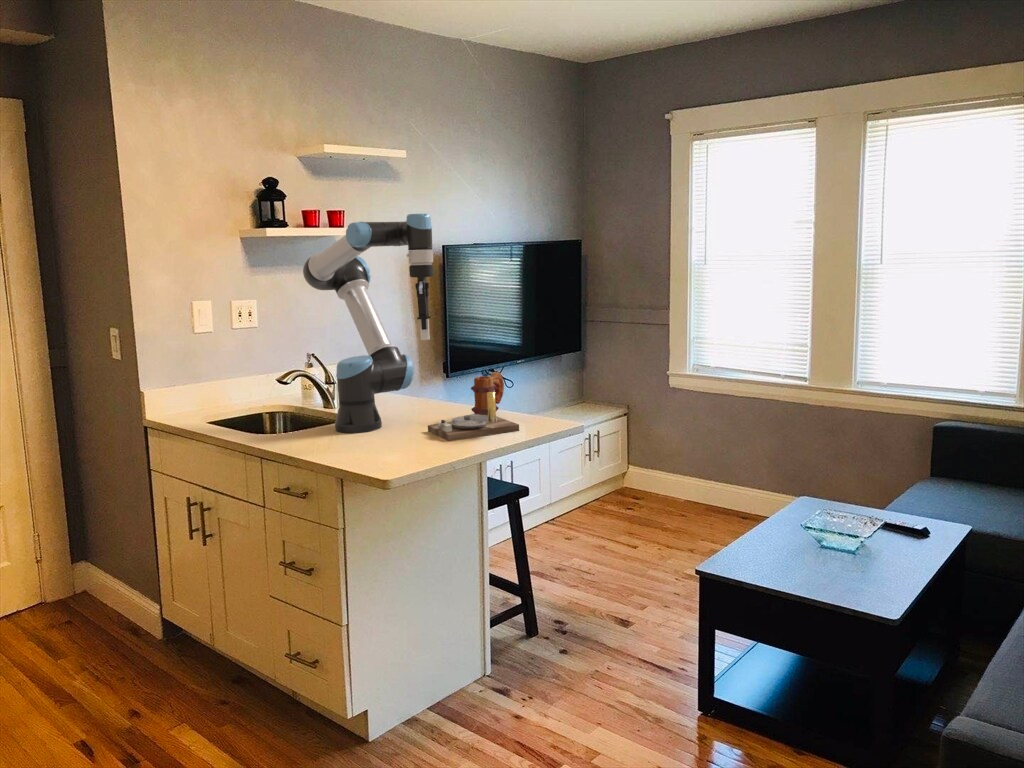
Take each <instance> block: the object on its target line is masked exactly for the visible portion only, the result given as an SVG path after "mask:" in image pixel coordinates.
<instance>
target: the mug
mask: <svg viewBox="0 0 1024 768" xmlns="http://www.w3.org/2000/svg"><path fill="white" fill-rule="evenodd" d="M504 387H505V383H504V378H503V376H502V375H501V373H500V372H497V371H492V373H491V374H490V375H489V376H488V375H487V376H485V375H483V376H476V377H474V379H473V385H472V386H471V387H470V389H471V391H473V394H474V406H473V407H472V408H471V412H472V413H473V414H482V415H488V402H487V392H495V406H496V412H497V411H498V410H499V407H498V405H499V404H500V403H501V401H502V398H503V395H504V391H505V390H504V389H505V388H504Z"/></svg>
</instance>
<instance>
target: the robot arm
mask: <svg viewBox="0 0 1024 768" xmlns="http://www.w3.org/2000/svg"><path fill="white" fill-rule="evenodd" d="M432 229H433V225H432V218H431V215H430V214H429V213H408V214H407V215H406V221H405V220H404V221H358V222H357V221H356V222H351V223H349V224H348V225H347V228H346V230H345V235H343V236H342V237H340V238H339V239H338V240H337V241H336V242H334V243H333V244H332V245H330V246H329V247H327V248H326V249H325V250H323V251H322V252H321V253H320V252H319V253H318V252H317V253H314V254H313V255H311V256H310V257H308V259H306V261H305V262H304V265H303V266H302V267H303V268H302V275H303V277H304V279H305V282H306V283H307V284H308V285H309V286H311V288H314V289H316V290H318V291H335V293H336V295H337V298H339V299H340V300H343V301H344V302H345V305H346V307H347V309H348V312H349V313H350V317H351V318H352V320H353V323H354V325H355V328H356V330H357V332H358V333H359V336H360V339H361V341H362V343H363V345H364V347H365V350H366V353H367V355H366V354H365V355H357V356H351V357H348V358H344V359H341V360H340V361H339V362H338V363H337V364H336V375H335V377H336V381H337V382H336V383H337V397H338V411H337V413H336V417H335V422H334V427H335V428H334V429H335V431H336V432H337V433H338V432H339V433H344V434H345V433H348V434H352V433H353V434H355V433H364V432H365V433H366V432H372V431H375V430H378V429H380V428H382V426H383V425H382V423H383V422H382V419H381V416H380V414H379V411H378V408H377V406H376V402H375V401H376V400H375V395H377V394H382V393H388V392H395V391H396V392H397V391H400V390H404V389H407V388H408V387H409V386H411V384H412V382H413V380H414V379H413V378H414V373H415V372H414V371H415V370H414V362H413V360H412V359H411V357H410V356H409V355H407V354H405V353H403V354H401V352H400V350H399V348H398V346H396V345H393V344H392V343H391V340H390V339H389V336H388V333H387V331H386V329H385V327H384V324H383V323H382V321H381V317H379V316H380V315H379V314H378V312H377V310H376V307H375V304H374V303H373V301H372V299H371V297H370V295H369V292H368V289H369V286H370V282H371V274H370V273H371V270H370V267H369V265H368V263H367V262H366V260H365V259H364V258H362V257H361V256H360V255H361V254H362V253H364V252H365V251H367V250H369V249H370V248H374V247H402V246H403V247H404V246H407V248H408V249H407V250H408V253H407V254H406V257H407V258H408V263H409V264H410V265H409V266H408V267H409V268H408V269H409V277H410V278H417V281H416V283H415V284H414V285H415V291H416V298H417V307H418V308H417V309H418V317H417V320H419V335H420V337H419V338H420V341H429V340H431V339H430V338H431V337H430V336H431V335H430V320H429V319H431V318H432V317H431V316H430V312H429V308H430V307H429V295H430V294H429V292H430V291H429V289H430V282H428V280H427V279H428V278H430V277H431V278H432V277H434V275H435V272H434V271H435V269H434V268H435V267H434V265H433V264H432V263H434V250H433V230H432Z"/></svg>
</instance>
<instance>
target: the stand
mask: <svg viewBox="0 0 1024 768" xmlns="http://www.w3.org/2000/svg"><path fill="white" fill-rule="evenodd" d="M519 431H520V424H519V423H516V422H514V421H510V420H507V419H506V418H502V417H500V416H497V421H496V422H487V425H486V426H484V427H481V428H475V429H457V428H453V427H452V422H451V421H449V422H446V420H445V419H442V420H441V421H438V422H437V423H434V424H433V423H432V424H427V432H428V433H430V432H431V434H433V435H435V436H438V437H440V438H442V439H444V440H446V441H447V442H453V441H459V440H460V441H461V440H466V439H472V438H480V437H486V436H492V435H499V434H505V433H506V434H507V433H513V432H514V433H515V432H519Z"/></svg>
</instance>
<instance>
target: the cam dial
mask: <svg viewBox="0 0 1024 768" xmlns="http://www.w3.org/2000/svg"><path fill="white" fill-rule="evenodd" d="M487 402H488V415H482V414H475V413H471V414H466V415H465V414H464V415H460V416H456V417H453V418H451V421H450V422H452V427H453V428H457V429H475V428H481V427H484V426H486V425H487V422H496V421H497V417H498V416H497V411H496V406H495V391H494V392H487Z"/></svg>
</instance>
